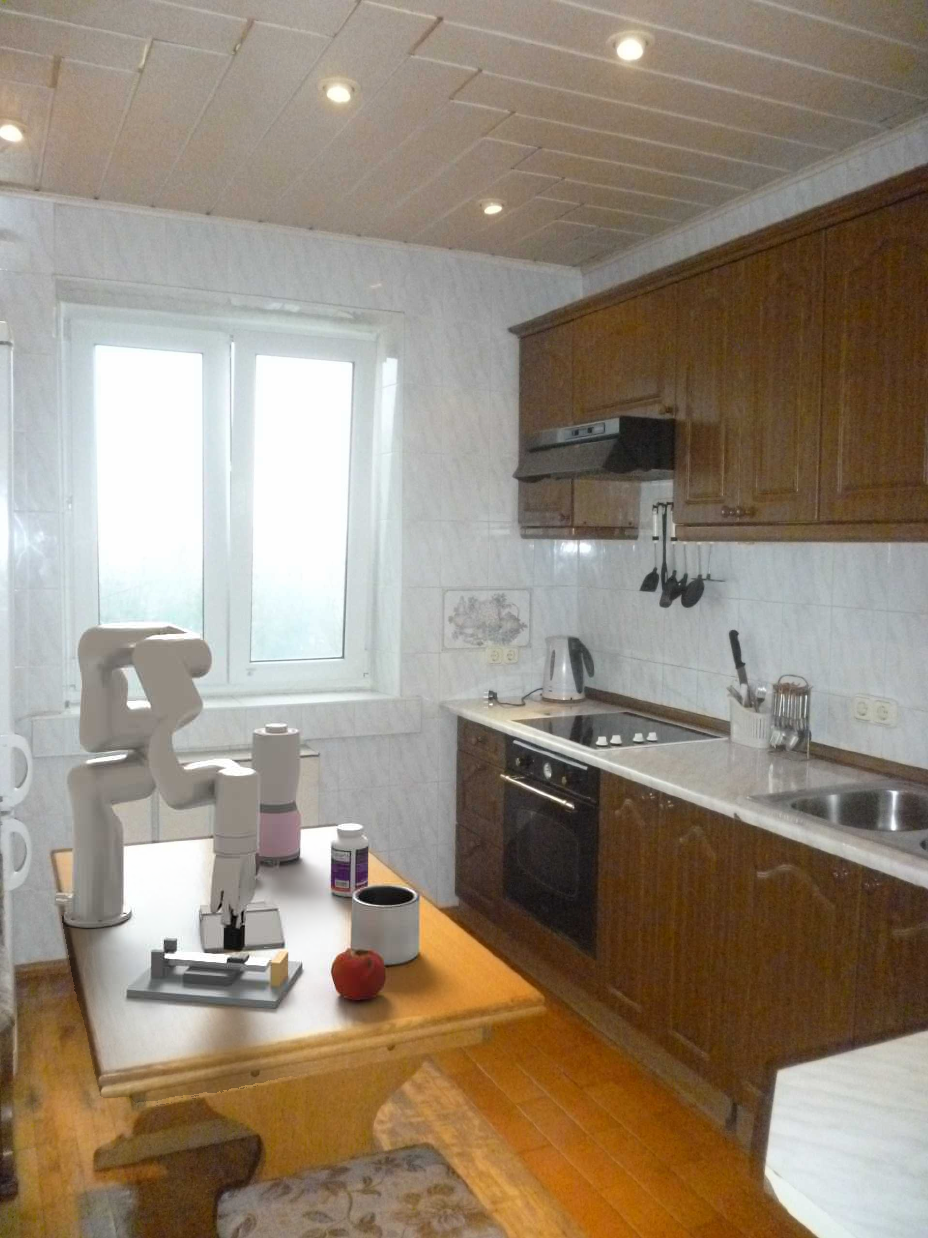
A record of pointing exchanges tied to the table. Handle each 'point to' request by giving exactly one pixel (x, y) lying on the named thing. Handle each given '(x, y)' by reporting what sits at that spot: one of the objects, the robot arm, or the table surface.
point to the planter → (386, 922)
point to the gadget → (259, 927)
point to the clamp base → (215, 994)
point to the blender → (277, 792)
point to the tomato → (358, 974)
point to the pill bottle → (349, 860)
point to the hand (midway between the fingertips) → (234, 948)
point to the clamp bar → (218, 961)
